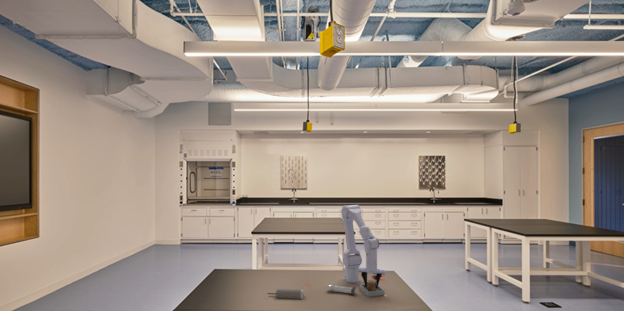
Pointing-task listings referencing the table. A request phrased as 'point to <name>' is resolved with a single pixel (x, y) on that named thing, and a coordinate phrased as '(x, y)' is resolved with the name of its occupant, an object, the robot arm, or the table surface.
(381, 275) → the tow hook
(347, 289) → the crank lever
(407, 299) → the table surface
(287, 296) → the motor
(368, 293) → the tray
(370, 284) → the block
